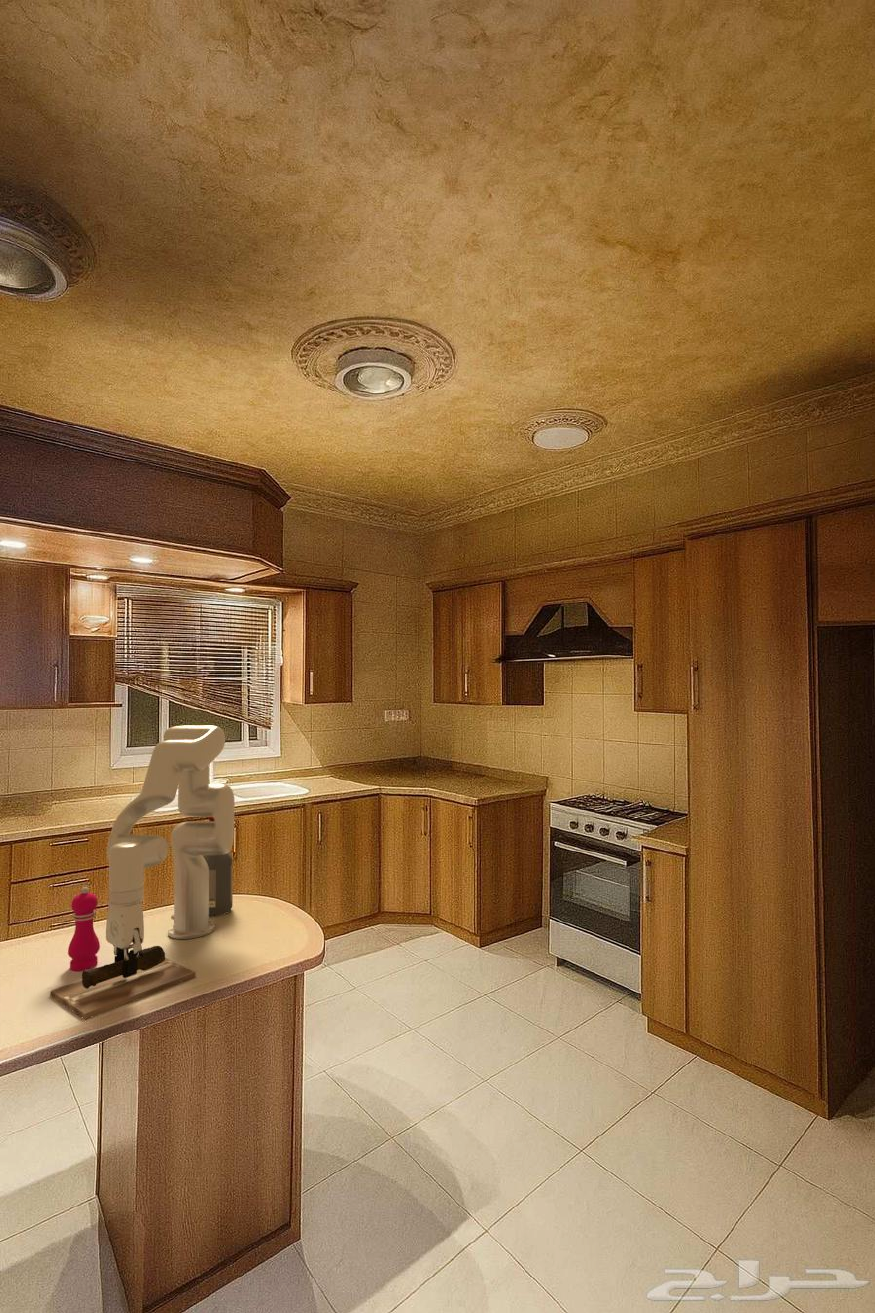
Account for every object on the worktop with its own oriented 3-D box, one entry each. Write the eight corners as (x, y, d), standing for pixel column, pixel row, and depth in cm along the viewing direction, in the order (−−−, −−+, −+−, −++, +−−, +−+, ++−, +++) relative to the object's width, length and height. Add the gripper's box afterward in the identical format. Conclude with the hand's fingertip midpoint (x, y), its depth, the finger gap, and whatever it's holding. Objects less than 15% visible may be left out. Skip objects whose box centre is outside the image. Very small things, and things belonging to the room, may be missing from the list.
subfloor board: (50, 996, 153) (50, 990, 153) (158, 959, 173) (158, 954, 173) (84, 1019, 141) (84, 1013, 141) (195, 977, 162) (195, 972, 162)
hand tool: (86, 992, 149) (86, 971, 149) (80, 986, 152) (80, 965, 152) (169, 966, 162) (169, 946, 163) (162, 961, 165) (162, 942, 165)
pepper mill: (94, 958, 174) (95, 881, 175) (103, 966, 169) (104, 886, 170) (63, 966, 169) (65, 887, 170) (72, 975, 164) (73, 893, 165)
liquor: (219, 905, 216) (219, 812, 217) (235, 910, 210) (236, 815, 211) (194, 912, 209) (194, 816, 210) (210, 918, 203) (210, 820, 204)
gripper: (94, 893, 160) (93, 970, 160) (127, 906, 150) (126, 989, 149) (125, 885, 166) (124, 959, 166) (158, 898, 156) (158, 977, 155)
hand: (125, 972), depth 157 cm, fingers closed on hand tool, 3 cm apart
